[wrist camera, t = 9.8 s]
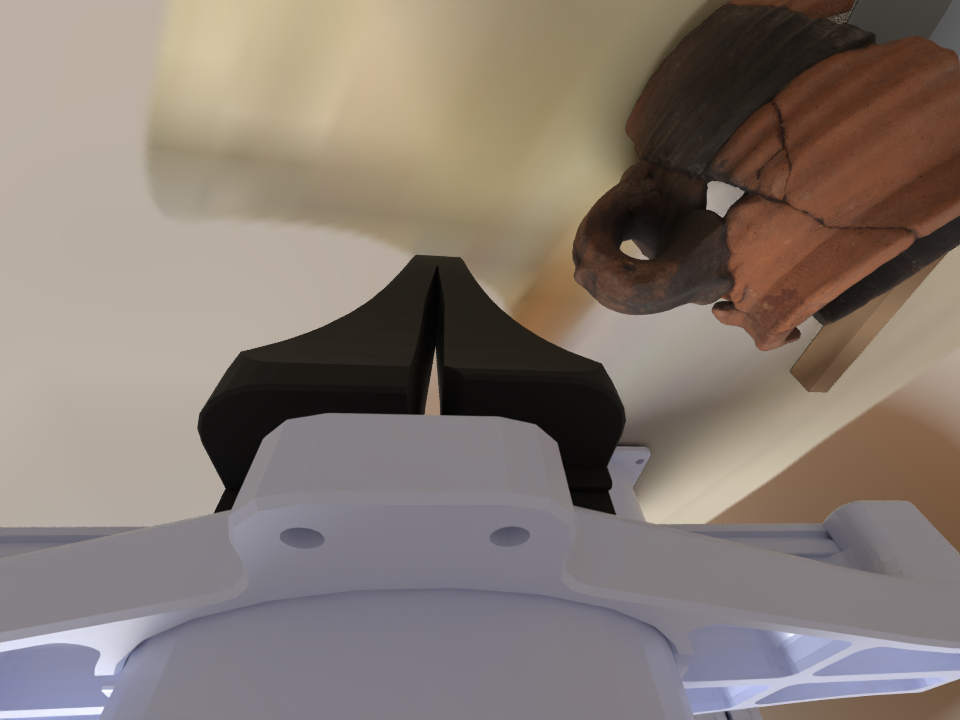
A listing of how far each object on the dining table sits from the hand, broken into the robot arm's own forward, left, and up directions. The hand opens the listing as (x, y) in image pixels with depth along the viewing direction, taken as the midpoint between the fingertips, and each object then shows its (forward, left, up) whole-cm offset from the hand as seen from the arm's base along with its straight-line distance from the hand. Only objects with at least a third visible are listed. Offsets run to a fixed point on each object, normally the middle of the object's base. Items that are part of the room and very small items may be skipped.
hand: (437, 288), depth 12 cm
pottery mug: (+2, -10, -5) cm, 11 cm away
